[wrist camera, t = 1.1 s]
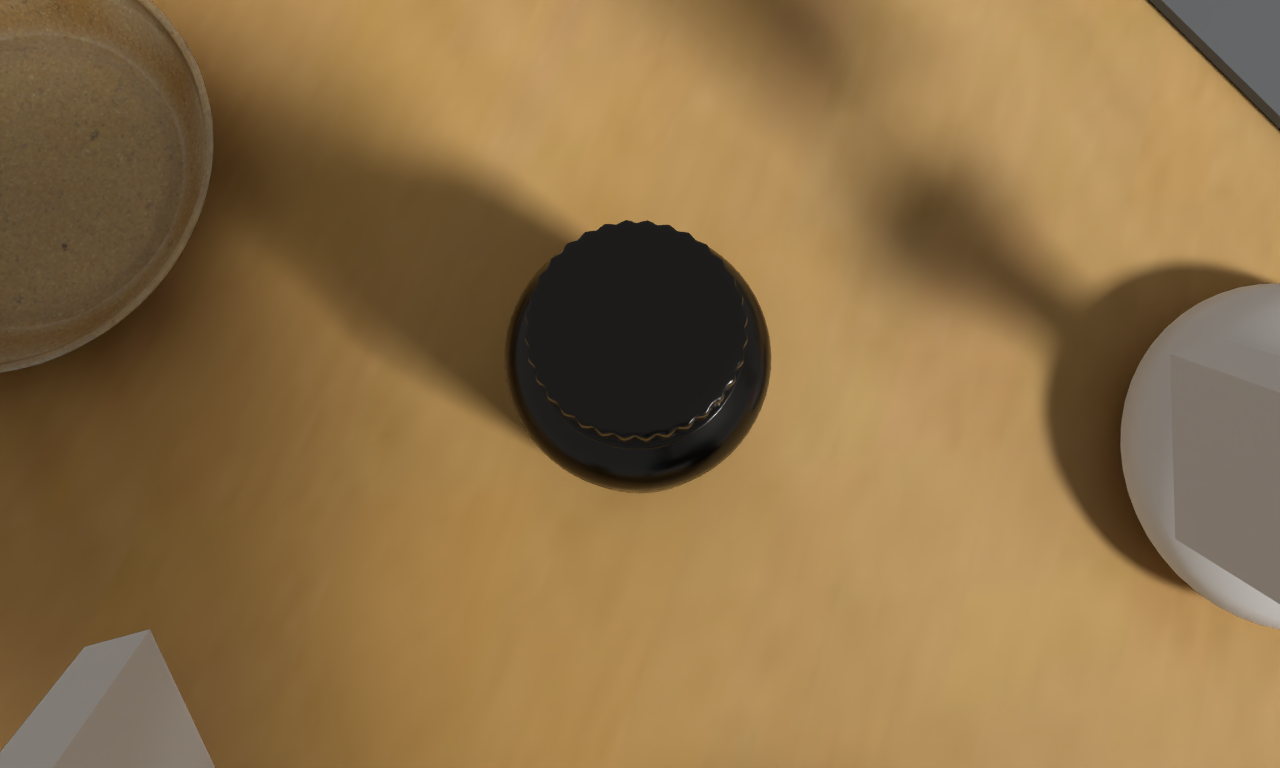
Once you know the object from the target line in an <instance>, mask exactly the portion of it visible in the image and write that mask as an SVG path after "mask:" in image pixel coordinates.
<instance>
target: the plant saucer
mask: <svg viewBox="0 0 1280 768" xmlns="http://www.w3.org/2000/svg"><path fill="white" fill-rule="evenodd" d="M213 151H214V143H213V121H212V113H211V107H210V102H209V98H208V94H207V90H206V86H205V83H204V80H203V77H202V75H201V72H200V69H199V67H198V65H197V62H196V60H195V58H194V56H193V54H192V53H191V51H190V49H189V48H188V46H187V44H186V43H185V41H184V40H183V38H182V37H181V36H180V34H179V33H178V31H177V30H176V29H175V27H174V26H173V25H172V23H171V22H170V21H169V20H168V18H167V17H166V16H165V15H164V14H163V13H162V12H161V11H160V10H159V9H158V8H157V7H156V6H155V5H154V4H153V3H152V2H151V1H150V0H0V372H8V371H12V370H18V369H23V368H26V367H30V366H34V365H38V364H41V363H44V362H47V361H50V360H52V359H55V358H57V357H59V356H62V355H64V354H67V353H69V352H71V351H73V350H75V349H78V348H79V347H81V346H83V345H85V344H87V343H89V342H90V341H92V340H94V339H96V338H97V337H99V336H100V335H102V334H104V333H105V332H107V331H108V330H110V329H111V328H112V327H114V326H115V325H116V324H118V323H119V322H120V321H121V320H123V319H124V318H125V317H126V316H128V315H129V314H130V313H131V312H132V311H133V310H135V309H136V308H137V307H138V306H139V305H140V304H141V303H142V302H143V301H144V300H145V299H146V298H147V297H148V296H149V295H150V294H151V293H152V292H153V291H154V290H155V288H156V287H157V286H158V285H159V284H160V283H161V282H162V280H163V279H164V278H165V276H166V275H167V274H168V273H169V271H170V270H171V268H172V267H173V266H174V264H175V263H176V261H177V260H178V258H179V256H180V255H181V253H182V251H183V250H184V248H185V246H186V244H187V242H188V241H189V239H190V236H191V234H192V232H193V230H194V228H195V226H196V223H197V221H198V218H199V216H200V213H201V211H202V208H203V205H204V202H205V198H206V195H207V191H208V187H209V182H210V178H211V171H212V163H213Z"/></svg>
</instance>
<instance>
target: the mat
mask: <svg viewBox="0 0 1280 768" xmlns="http://www.w3.org/2000/svg"><path fill="white" fill-rule="evenodd" d="M1149 1H1150V2H1151V3H1152V4H1153V5H1154V6H1155V7H1156V8H1157V9H1158V10H1159V11H1160V12H1161V13H1162V14H1163V15H1164V16H1166V17H1167V18H1168V19H1169V20H1170V21H1171V22H1172V23H1173V24H1174V25H1175V26H1176V27H1177V28H1178V29H1179V30H1180V31H1181V32H1182V33H1183V34H1184V35H1185V36H1186V37H1187V38H1188V39H1189V40H1190V41H1191V42H1192V43H1193V44H1194V45H1195V46H1196V47H1197V48H1198V49H1199V50H1200V51H1201V52H1202V53H1203V54H1204V55H1205V56H1206V57H1207V58H1208V59H1209V60H1210V61H1211V62H1212V63H1213V64H1214V65H1215V66H1216V67H1217V68H1218V69H1219V70H1220V71H1221V72H1222V73H1223V74H1224V75H1225V76H1226V77H1227V78H1229V79H1230V80H1231V81H1232V82H1233V83H1234V84H1235V85H1236V86H1237V87H1238V88H1239V89H1240V90H1241V91H1242V92H1243V93H1244V94H1245V95H1246V96H1247V97H1248V98H1249V99H1250V100H1251V101H1252V102H1253V103H1254V104H1255V105H1256V106H1257V107H1258V108H1259V109H1260V110H1261V111H1262V112H1263V113H1264V114H1265V115H1266V116H1267V117H1268V118H1269V119H1270V120H1271V121H1272V122H1273V123H1274V124H1275V125H1276V126H1277V127H1278V128H1279V129H1280V0H1149Z"/></svg>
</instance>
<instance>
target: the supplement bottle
mask: <svg viewBox="0 0 1280 768" xmlns="http://www.w3.org/2000/svg"><path fill="white" fill-rule="evenodd" d="M770 371H771V347H770V339H769V333H768V328H767V325H766V321H765V318H764V315H763V312H762V310H761V307H760V305H759V303H758V301H757V299H756V297H755V295H754V293H753V292H752V290H751V288H750V287H749V285H748V284H747V282H746V281H745V280H744V279H743V277H742V276H741V275H740V273H739V272H738V271H737V270H736V269H735V268H734V267H733V266H732V265H731V264H730V263H729V262H728V261H727V260H726V259H724V258H723V257H722V256H721V255H719V254H718V253H717V252H715V251H714V250H713V249H711V248H710V247H708V246H707V245H706V244H704V243H701V242H699V241H697V240H695V239H694V238H693V237H692V236H691V235H690V234H689V233H686V232H678V231H676V230H675V229H674V228H673V227H671V226H670V225H655V224H654V223H652V222H650V221H643V222H640V223H634V222H632V221H628V220H626V221H623V222H621V223H619V224H617V225H613V224H605V225H603V226H602V227H600V228H599V229H598V230H597V231H589V232H585V233H584V234H583V235H582V236H581V237H580V239H579V240H577V241H574V242H571V243H568V244H567V245H566V246H565V248H564V249H563V250H562V251H561V252H559V253H558V254H556V255H555V256H554V257H553V258H552V259H550V260H549V261H548V262H547V263H546V264H545V265H544V266H543V267H542V268H541V269H540V270H539V271H538V272H537V273H536V275H535V276H534V277H533V278H532V280H531V281H530V282H529V284H528V285H527V287H526V288H525V290H524V291H523V293H522V295H521V297H520V299H519V301H518V303H517V305H516V307H515V309H514V312H513V314H512V317H511V320H510V324H509V327H508V332H507V337H506V344H505V373H506V381H507V386H508V390H509V394H510V397H511V400H512V403H513V406H514V408H515V411H516V413H517V415H518V417H519V419H520V421H521V423H522V424H523V426H524V428H525V430H526V431H527V432H528V434H529V435H530V437H531V438H532V440H533V441H534V442H535V443H536V444H537V445H538V447H539V448H540V449H541V450H542V451H543V452H544V453H545V454H546V455H547V456H548V457H549V458H550V459H551V460H553V461H554V462H555V463H556V464H558V465H559V466H560V467H562V468H563V469H565V470H566V471H568V472H570V473H571V474H573V475H575V476H577V477H579V478H581V479H583V480H585V481H587V482H590V483H593V484H595V485H598V486H601V487H604V488H608V489H611V490H616V491H621V492H627V493H653V492H660V491H664V490H668V489H671V488H674V487H677V486H680V485H682V484H684V483H687V482H689V481H691V480H693V479H695V478H697V477H699V476H701V475H703V474H705V473H706V472H708V471H710V470H711V469H713V468H714V467H715V466H717V465H718V464H719V463H721V462H722V461H723V460H724V459H725V458H726V457H728V456H729V455H730V454H731V453H732V452H733V451H734V450H735V449H736V448H737V446H738V445H739V444H740V443H741V442H742V440H743V439H744V438H745V436H746V435H747V434H748V432H749V431H750V429H751V427H752V425H753V424H754V422H755V420H756V418H757V416H758V414H759V412H760V410H761V408H762V405H763V402H764V399H765V396H766V392H767V388H768V384H769V378H770Z"/></svg>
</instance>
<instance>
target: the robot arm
mask: <svg viewBox="0 0 1280 768" xmlns="http://www.w3.org/2000/svg"><path fill="white" fill-rule="evenodd" d="M1170 369H1171V405H1172V442H1173V479H1174V515H1175V539H1176V540H1178V541H1179V542H1181V543H1183V544H1184V545H1186V546H1187V547H1189V548H1191V549H1192V550H1194V551H1195V552H1197V553H1199V554H1200V555H1202V556H1203V557H1205V558H1207V559H1208V560H1210V561H1211V562H1213V563H1215V564H1216V565H1218V566H1219V567H1221V568H1223V569H1224V570H1226V571H1227V572H1229V573H1231V574H1232V575H1234V576H1235V577H1237V578H1239V579H1240V580H1242V581H1243V582H1245V583H1247V584H1248V585H1250V586H1251V587H1253V588H1254V589H1256V590H1258V591H1259V592H1261V593H1262V594H1264V595H1266V596H1267V597H1269V598H1270V599H1272V600H1274V601H1275V602H1277V603H1278V604H1280V356H1278V355H1274V354H1271V353H1268V352H1265V351H1261V350H1258V349H1255V348H1252V347H1248V346H1245V345H1242V344H1238V343H1235V342H1232V341H1229V340H1225V339H1223V340H1220V341H1216V342H1212V343H1208V344H1205V345H1201V346H1197V347H1194V348H1190V349H1186V350H1183V351H1179V352H1175V353H1171V354H1170ZM0 768H215V766H214V764H213V762H212V760H211V758H210V756H209V753H208V751H207V749H206V747H205V745H204V743H203V741H202V739H201V736H200V734H199V732H198V730H197V728H196V726H195V724H194V722H193V719H192V717H191V715H190V713H189V711H188V709H187V707H186V705H185V702H184V700H183V698H182V696H181V694H180V692H179V690H178V688H177V685H176V683H175V681H174V679H173V677H172V675H171V673H170V671H169V669H168V666H167V664H166V662H165V660H164V658H163V656H162V654H161V652H160V649H159V647H158V645H157V643H156V641H155V639H154V637H153V635H152V632H151V630H150V629H149V630H145V631H141V632H138V633H134V634H130V635H126V636H123V637H119V638H115V639H112V640H108V641H104V642H100V643H97V644H93V645H89V646H86V647H84V648H83V649H82V651H81V652H80V653H79V654H78V656H77V657H76V658H75V659H74V661H73V662H72V663H71V664H70V666H69V667H68V668H67V669H66V671H65V672H64V673H63V674H62V676H61V677H60V678H59V679H58V681H57V682H56V683H55V684H54V686H53V687H52V688H51V689H50V691H49V692H48V693H47V694H46V696H45V697H44V698H43V699H42V701H41V702H40V703H39V704H38V706H37V707H36V708H35V709H34V711H33V712H32V713H31V714H30V716H29V717H28V718H27V719H26V720H25V722H24V723H23V724H22V725H21V727H20V728H19V729H18V730H17V732H16V733H15V734H14V735H13V737H12V738H11V739H10V740H9V742H8V743H7V744H6V745H5V747H4V748H3V749H2V750H1V752H0Z"/></svg>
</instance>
